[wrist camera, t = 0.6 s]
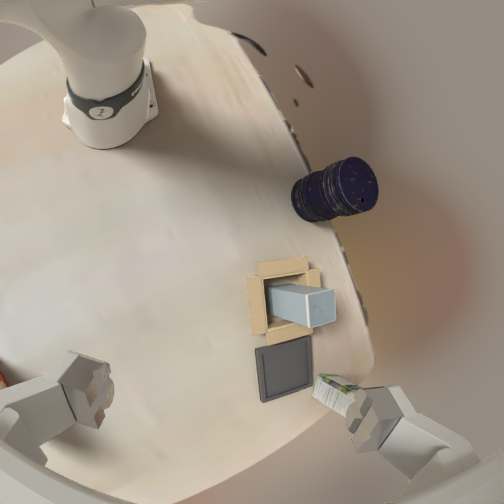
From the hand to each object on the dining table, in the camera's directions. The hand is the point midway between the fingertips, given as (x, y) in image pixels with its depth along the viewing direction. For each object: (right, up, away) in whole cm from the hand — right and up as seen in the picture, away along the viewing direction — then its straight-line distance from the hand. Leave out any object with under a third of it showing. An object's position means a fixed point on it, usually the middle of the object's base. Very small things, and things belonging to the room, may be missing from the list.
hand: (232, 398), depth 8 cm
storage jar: (+13, +16, +49) cm, 53 cm away
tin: (+6, -4, +45) cm, 46 cm away
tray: (+7, -19, +45) cm, 50 cm away
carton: (+6, -4, +45) cm, 46 cm away
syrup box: (+17, -26, +50) cm, 59 cm away
